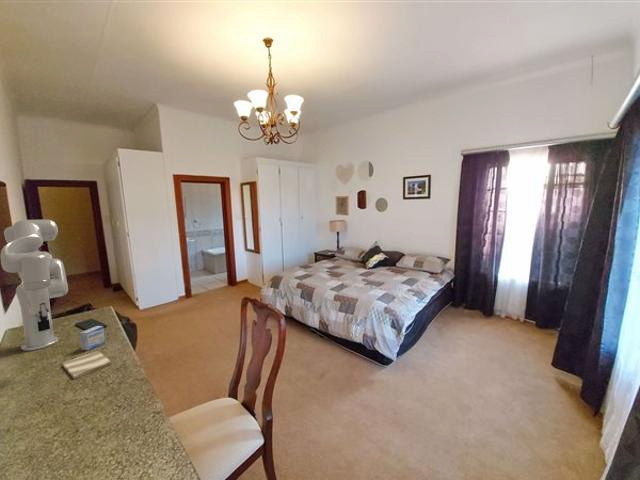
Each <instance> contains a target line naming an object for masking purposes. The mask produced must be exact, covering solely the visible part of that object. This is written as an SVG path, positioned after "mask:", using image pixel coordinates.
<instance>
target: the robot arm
mask: <svg viewBox="0 0 640 480" xmlns="http://www.w3.org/2000/svg"><path fill="white" fill-rule="evenodd" d="M58 233H59V228H58V225H57V223H56V222H55V221H54V220H52V219H23V220H22V219H21V220H18V221H16V222H15V223H14V224H13V225H12V226H8V227H6V228H5V229H4V231H3V235H4V239H5V242H6V243H7V244H5V245H4V246H3V247H2V249H1V250H0V263H1V267H2V269H3V271H5V272H6V273H13V274H14V273H17V275H18V277H19V279H21V280H22V283H20V284H19V285H17V287H16V289H15V294H16V297H17V300H18V303H19V305H20V312H21V318H22V325H23V334H24V343H23V344H22V345H21V346H20V348H21V350H22V351H25V352H26V351H36V350H40V349H43V348H47V347H49V346H52V345H54V344H56V343H57V342H58V341H59V337H58V336H56V335H54V329H53V320H52V311H51V304H50V299H53V298H60V297H63V296H66V295H67V294H68V292H69V284H68V281H67V280H68V279H67V274H66V269H65V265H64V262H63V261H62V260H61V259H60V258H53V255H52V254H51V253H49V252H48V251H40V249H39V248H41V247H42V245H43V244H44V242H50V241H51V242H52V241H55V239H56V238H57V236H58ZM39 312H41V314H39ZM48 312H49V316H50V324H51V329H50V324H49V318H48ZM36 314H37V316H38V321H39V322H37V323H38V331H44V330H48V329H50V330H48V331H46V332H41V333H35V329H34V321H33V315H34V316H35V315H36ZM40 315H42V316H41V317H40Z"/></svg>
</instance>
